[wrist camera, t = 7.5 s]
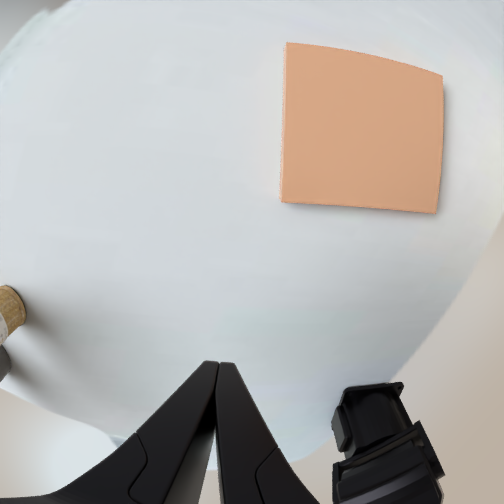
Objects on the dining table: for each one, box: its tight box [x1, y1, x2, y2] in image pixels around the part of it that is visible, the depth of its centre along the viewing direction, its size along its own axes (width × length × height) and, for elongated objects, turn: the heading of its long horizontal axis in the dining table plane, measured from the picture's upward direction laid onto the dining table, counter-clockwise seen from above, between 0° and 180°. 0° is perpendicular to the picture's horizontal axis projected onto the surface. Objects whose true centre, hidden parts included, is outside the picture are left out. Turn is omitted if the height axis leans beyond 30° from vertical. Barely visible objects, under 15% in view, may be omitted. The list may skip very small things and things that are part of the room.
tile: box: [279, 42, 444, 214], centre depth 17 cm, size 2×10×11 cm
